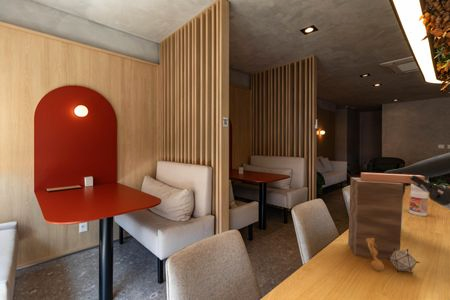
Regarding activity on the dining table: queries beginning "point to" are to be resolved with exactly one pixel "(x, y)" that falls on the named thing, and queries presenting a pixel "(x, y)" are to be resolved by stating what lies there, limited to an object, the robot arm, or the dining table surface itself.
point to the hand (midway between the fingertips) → (407, 176)
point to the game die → (403, 260)
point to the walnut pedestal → (375, 217)
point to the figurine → (375, 263)
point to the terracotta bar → (389, 177)
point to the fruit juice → (418, 201)
